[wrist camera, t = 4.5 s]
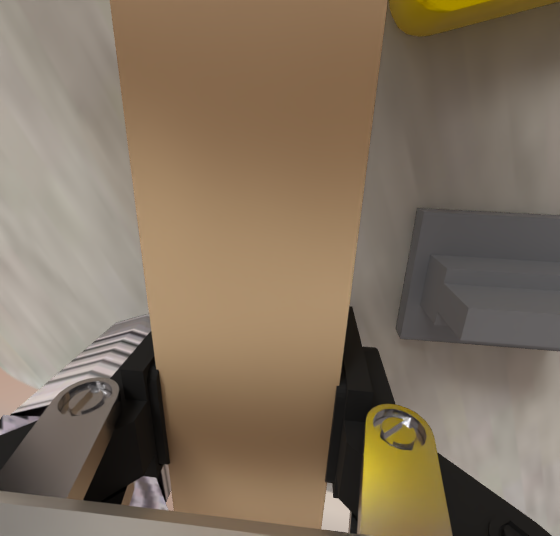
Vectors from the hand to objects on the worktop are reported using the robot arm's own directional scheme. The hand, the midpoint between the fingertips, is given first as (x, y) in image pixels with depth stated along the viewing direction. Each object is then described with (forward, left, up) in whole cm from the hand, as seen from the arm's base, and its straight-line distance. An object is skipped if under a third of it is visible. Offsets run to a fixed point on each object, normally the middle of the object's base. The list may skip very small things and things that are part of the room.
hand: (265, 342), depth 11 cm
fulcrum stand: (+3, +15, -15) cm, 22 cm away
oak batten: (0, 0, -1) cm, 1 cm away
